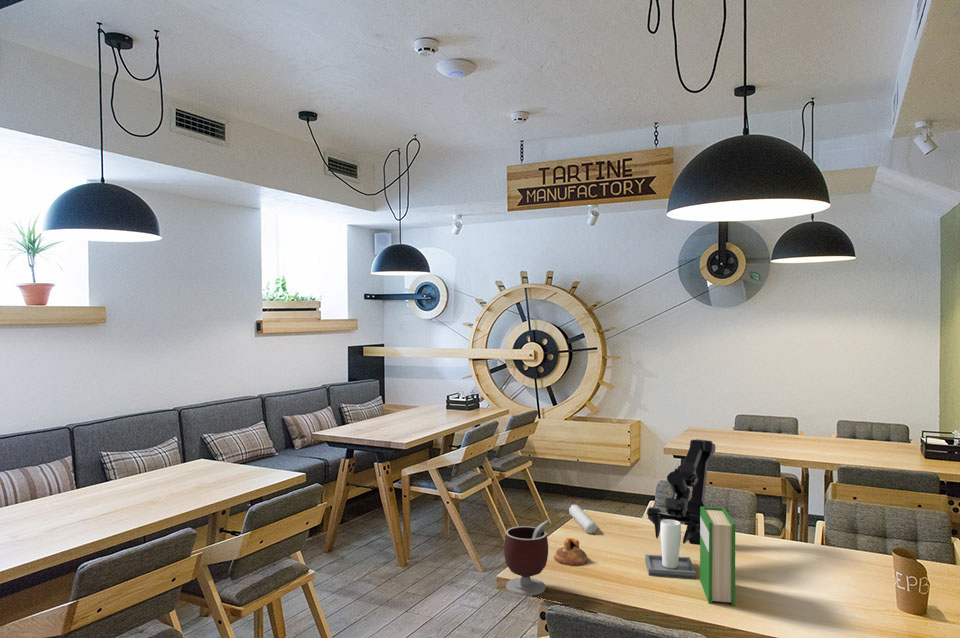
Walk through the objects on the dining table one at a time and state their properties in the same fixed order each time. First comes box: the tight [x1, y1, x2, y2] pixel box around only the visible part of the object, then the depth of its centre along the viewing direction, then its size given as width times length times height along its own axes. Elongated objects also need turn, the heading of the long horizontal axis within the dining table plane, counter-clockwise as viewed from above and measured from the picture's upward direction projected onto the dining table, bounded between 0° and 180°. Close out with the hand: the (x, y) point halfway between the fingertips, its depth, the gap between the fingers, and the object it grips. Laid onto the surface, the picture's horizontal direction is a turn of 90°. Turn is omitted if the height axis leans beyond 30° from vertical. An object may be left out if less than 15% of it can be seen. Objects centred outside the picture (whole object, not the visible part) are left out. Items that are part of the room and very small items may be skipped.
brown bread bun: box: [553, 537, 588, 566], centre depth 223 cm, size 12×12×7 cm
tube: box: [568, 504, 597, 534], centre depth 262 cm, size 5×5×25 cm
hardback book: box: [699, 506, 736, 607], centre depth 196 cm, size 18×7×24 cm, turn 169°
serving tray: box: [644, 553, 697, 580], centre depth 214 cm, size 15×14×2 cm
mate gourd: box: [503, 519, 550, 597], centre depth 199 cm, size 16×14×20 cm
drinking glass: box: [659, 519, 682, 569], centre depth 215 cm, size 7×7×15 cm
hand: (669, 540), depth 215 cm, fingers open, 9 cm apart
